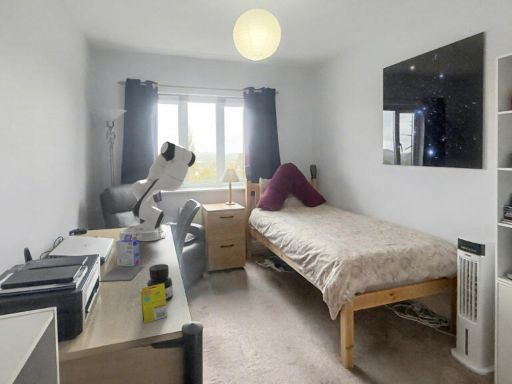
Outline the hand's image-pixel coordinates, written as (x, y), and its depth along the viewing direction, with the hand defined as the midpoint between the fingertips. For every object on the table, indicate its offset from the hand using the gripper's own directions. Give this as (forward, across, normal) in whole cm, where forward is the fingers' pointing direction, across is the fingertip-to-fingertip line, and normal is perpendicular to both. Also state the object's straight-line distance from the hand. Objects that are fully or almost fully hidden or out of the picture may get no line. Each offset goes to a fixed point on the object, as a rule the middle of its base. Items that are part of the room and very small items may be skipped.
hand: (134, 238), depth 164 cm
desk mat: (+23, -1, -11) cm, 25 cm away
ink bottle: (+50, -26, -11) cm, 57 cm away
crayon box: (+64, -28, -11) cm, 71 cm away
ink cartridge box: (+10, 0, -11) cm, 15 cm away
